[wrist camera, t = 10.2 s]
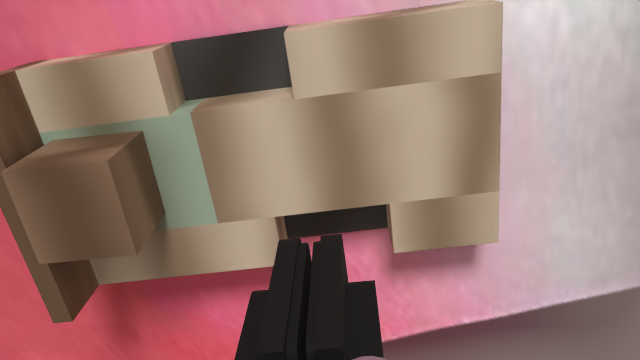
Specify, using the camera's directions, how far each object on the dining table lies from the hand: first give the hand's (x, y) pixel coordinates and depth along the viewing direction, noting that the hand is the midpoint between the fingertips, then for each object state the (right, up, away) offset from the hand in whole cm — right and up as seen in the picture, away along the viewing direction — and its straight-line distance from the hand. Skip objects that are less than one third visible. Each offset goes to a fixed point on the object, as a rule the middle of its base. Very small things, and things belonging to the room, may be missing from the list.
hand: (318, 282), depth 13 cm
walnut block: (-10, +3, +11) cm, 16 cm away
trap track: (-3, +5, +13) cm, 14 cm away
